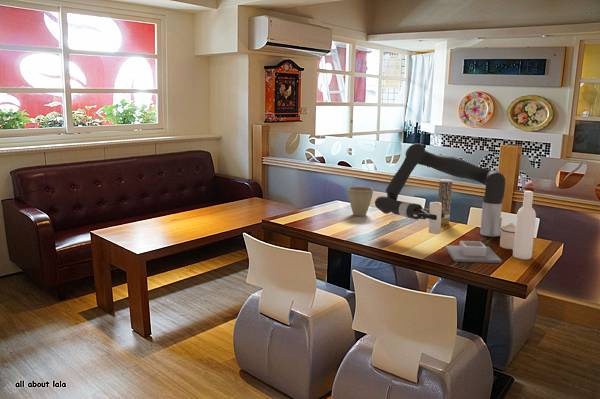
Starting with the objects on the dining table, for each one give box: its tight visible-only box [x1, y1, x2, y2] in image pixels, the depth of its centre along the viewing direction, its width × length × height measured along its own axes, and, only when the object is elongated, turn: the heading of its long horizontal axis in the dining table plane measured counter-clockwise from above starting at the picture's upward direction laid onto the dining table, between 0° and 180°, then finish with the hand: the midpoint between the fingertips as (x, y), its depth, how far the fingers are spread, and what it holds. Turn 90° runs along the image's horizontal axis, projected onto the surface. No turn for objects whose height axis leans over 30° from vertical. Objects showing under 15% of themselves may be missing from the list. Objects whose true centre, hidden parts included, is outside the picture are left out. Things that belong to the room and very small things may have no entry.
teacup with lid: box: [499, 222, 516, 250], centre depth 239 cm, size 12×9×12 cm
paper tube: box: [437, 178, 453, 226], centre depth 279 cm, size 7×7×25 cm
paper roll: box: [428, 201, 442, 235], centre depth 233 cm, size 5×5×14 cm
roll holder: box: [444, 240, 503, 264], centre depth 226 cm, size 20×20×5 cm
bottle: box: [512, 190, 537, 260], centre depth 222 cm, size 8×8×30 cm
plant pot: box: [347, 186, 374, 217], centre depth 299 cm, size 15×15×16 cm
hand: (440, 216), depth 231 cm, fingers closed on paper roll, 5 cm apart
